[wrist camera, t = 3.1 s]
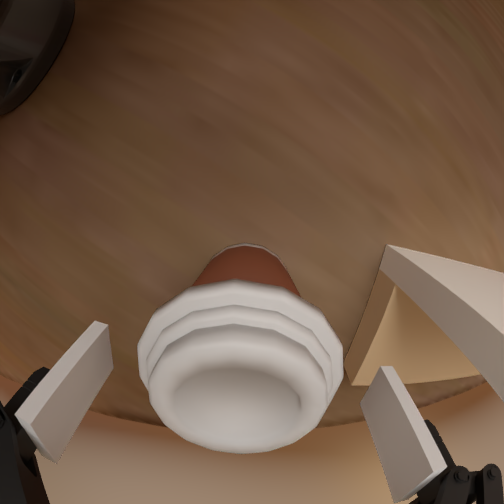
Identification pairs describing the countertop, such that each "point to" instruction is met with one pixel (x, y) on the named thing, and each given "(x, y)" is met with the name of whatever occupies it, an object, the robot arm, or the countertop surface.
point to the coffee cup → (240, 356)
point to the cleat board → (430, 321)
